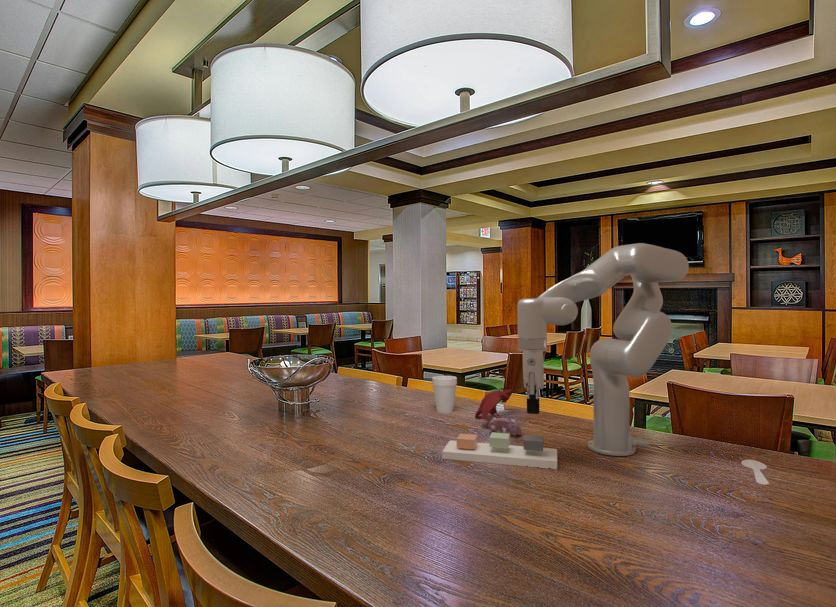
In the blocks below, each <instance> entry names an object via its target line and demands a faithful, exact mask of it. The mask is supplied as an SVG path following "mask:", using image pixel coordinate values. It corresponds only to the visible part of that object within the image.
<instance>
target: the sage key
mask: <svg viewBox="0 0 836 607" xmlns="http://www.w3.org/2000/svg"><path fill="white" fill-rule="evenodd" d="M488 439H489V440H488V441H489V442H488V443H489V447H497V448H509V445H511V436H510V434H507V433H505V432H503V433H496V432H492V431H491V433H490V435H489V438H488Z"/></svg>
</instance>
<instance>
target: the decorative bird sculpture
mask: <svg viewBox="0 0 836 607" xmlns="http://www.w3.org/2000/svg"><path fill="white" fill-rule="evenodd" d="M513 393H514V389H506V390H499V389H498V390H493V391H490V392H489V393H487V394H486V395H485V396H483V398H482V400H481V402H480V403H479V404H480V405H479V407H478V408H477V410H476V413H475V415H474V418H476V417H477V418H478V417H480V415H481V417H480V418H481V419H482V421H484V420H485V419H486V418H487V416H488V415H490V416H493V417H494V418H496V419H497V418H503V415H502V416H500V415H499V414H498V411H497V405H498V404H499V403H500V402H501V403H507V401H508V400H510V398H511V396H512V394H513ZM496 415H497V416H496ZM477 418H476V419H477Z"/></svg>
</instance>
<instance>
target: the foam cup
mask: <svg viewBox="0 0 836 607" xmlns="http://www.w3.org/2000/svg"><path fill="white" fill-rule="evenodd" d="M457 384H458V378H457V376H453V375H434V376H432V386H433V394H434V400H435V401H434V402H435V408H436V413H438V412H439V414H451V412H452V413H453V412H454V409H455V408H454V406H455V398H456V390H457Z"/></svg>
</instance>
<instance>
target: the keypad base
mask: <svg viewBox="0 0 836 607" xmlns="http://www.w3.org/2000/svg"><path fill="white" fill-rule="evenodd" d="M441 457H442V458H441V459H442V460H452V461H462V462H463V461H464V462H474V463H483V464H484V463H486V464H494V465H495V464H496V465H506V466H507V465H508V466H516V465H517V466H518V467H526V466H528V468H537V467H539V469H548V468H551V470H558V449H557V448H548V447H543V451H534V450H524V445H514V444H513V445H512V444H509V448H497V447H489V442H487V443H486V442H478V444H477V446H476V448H475V449H465V448H457V440H451V439H450V440H449V441H448V443H447V444H446V446H445V447H444V448H443V450H442V452H441Z"/></svg>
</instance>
